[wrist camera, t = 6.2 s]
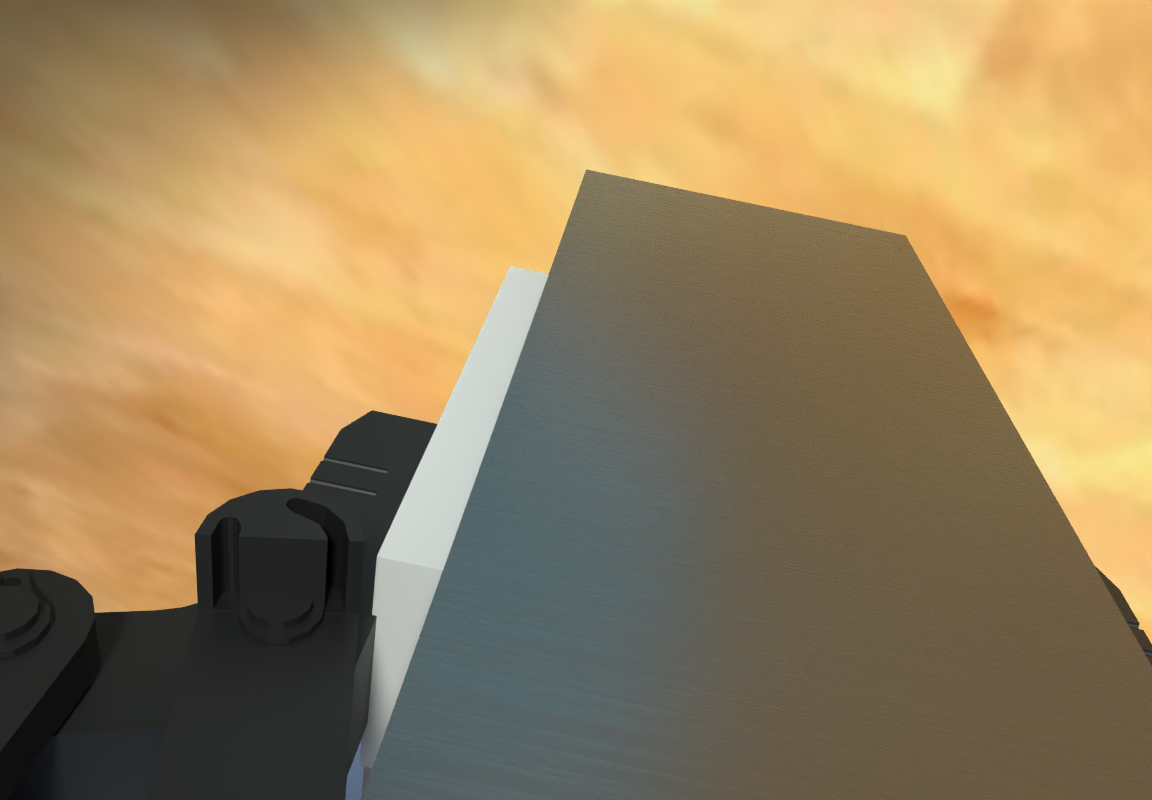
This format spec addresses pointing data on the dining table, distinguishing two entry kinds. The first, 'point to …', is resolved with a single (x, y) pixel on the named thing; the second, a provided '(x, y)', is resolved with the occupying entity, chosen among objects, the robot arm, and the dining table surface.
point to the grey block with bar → (759, 544)
